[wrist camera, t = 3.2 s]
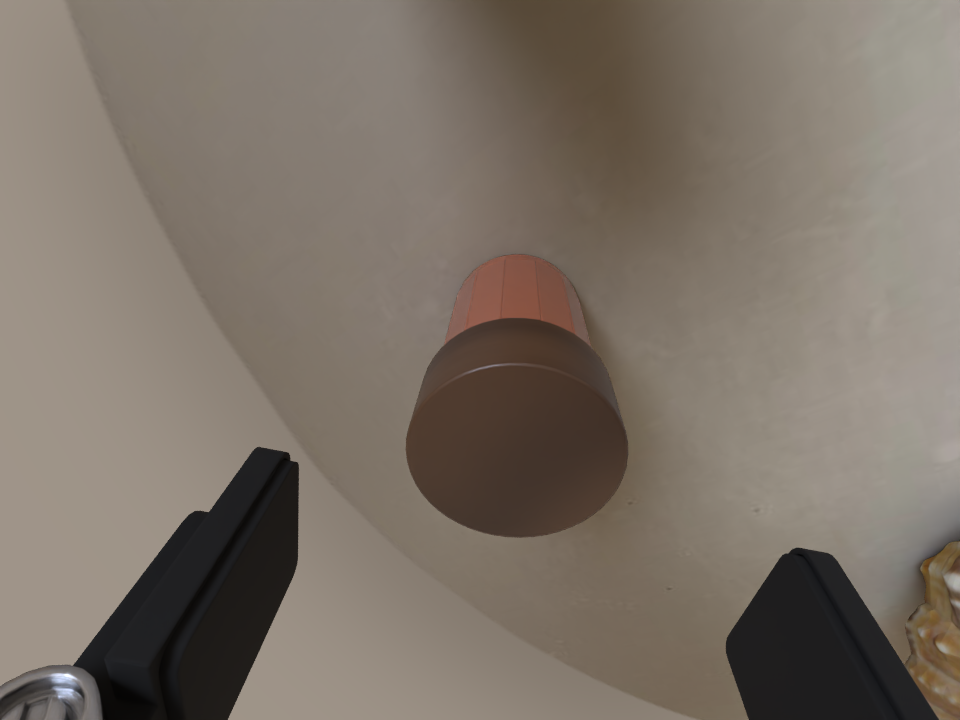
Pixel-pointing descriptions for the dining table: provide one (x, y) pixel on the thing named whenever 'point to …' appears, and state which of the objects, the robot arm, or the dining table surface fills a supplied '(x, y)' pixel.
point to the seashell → (938, 634)
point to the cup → (517, 296)
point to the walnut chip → (517, 430)
